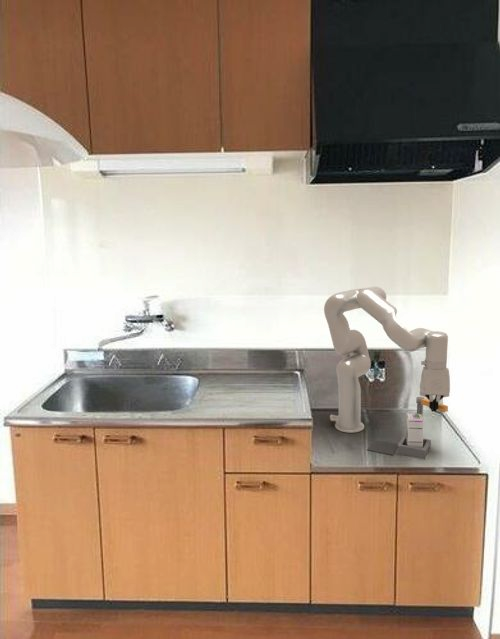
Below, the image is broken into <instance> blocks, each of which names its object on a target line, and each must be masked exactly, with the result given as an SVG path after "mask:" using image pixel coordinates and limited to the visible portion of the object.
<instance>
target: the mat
mask: <svg viewBox="0 0 500 639" xmlns="http://www.w3.org/2000/svg"><path fill="white" fill-rule="evenodd" d="M398 444H399V443H394V442H389V441H383V440H379V439H374V440H372V442H371V443H370V445H369V446H368V448H367V449H366V451H367V452H374V453H379V454H384V455H389V456H394V454H395V453H396V452H397V451H396V450H398Z"/></svg>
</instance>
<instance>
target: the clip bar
mask: <svg viewBox="0 0 500 639" xmlns="http://www.w3.org/2000/svg"><path fill="white" fill-rule="evenodd" d="M415 401H416V403H415V404H417V403H418V404H422V405H423V406H425V407H428V408H429V402H430V400H429V399H428V398H426V397H424V396H417V397H416V400H415ZM437 411H440V412H442V413H447V412H448V411H449V406H448V405H445V404H443V403H439V402H438V409H437Z"/></svg>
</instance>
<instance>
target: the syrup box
mask: <svg viewBox="0 0 500 639" xmlns="http://www.w3.org/2000/svg"><path fill="white" fill-rule="evenodd" d="M406 436H407V441H406V446H411V447H417V448H422V449H423V439H424V417H423V418H422V415H421V414H417V413H416V412H415V413H413V412H412V413H406Z"/></svg>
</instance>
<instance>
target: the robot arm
mask: <svg viewBox="0 0 500 639" xmlns="http://www.w3.org/2000/svg"><path fill="white" fill-rule="evenodd" d="M358 309H362V310H363V311H365V312H366V313H367V314H368V315H369V316H371V317H372V318H373V319H375V321H377V322H378V323H379V324H380V325H381V326H382V329H383V331H384V332H385V334H386V335H387V338H389V339H390V340H391V341H392V342H393V343H394V344H395V345H397V346H398V347H399V348H401V350H404V351H406V352H408V353H409V352H410V353H411V352H415V351H418V350H420V349H424V348H425V359H424V360H421V363H420V364H421V365H423V368H422V371H421V376H420V386H419V388H420V390H419V395H420V397H424V398H426V399H428V400H430V402H429V407H428V408H429V409H430V410H431V412H433V413H437V411H438V410H437V409H438V403H439V402H440V401H441V400H442V399H443V398H448V397H450V391H451V383H450V381H451V378H450V370H449V368H448V367H447V363H448V362H447V361H448V346H449V345H448V341H449V336H448V334H447V333H446V332H444V331H439V330H437V331H435V330H434V331H433V330H430V329H428V328H422V327H418V328H414V329H412V330H409V329H407V328H406V327H404V326H403V325H402V324H401V322H399V320H398V318H397V312H398V310H397V307H395V306H394V305H392V304H391V303H390V302H389V301H387V293H386V291H385V290H384V289H383V288H381V287H380V286H371V287H362V288H357V289H356V288H355V289H350V290H344V291H341V292H339V291H338V292H336V293H334V294H332V295H331V296H329V297H328V299H326V301H325V303H324V308H323V313H324V317H325V319H326V320H325V321H326V323H327V325H328V328H329V329H328V330H329V333H330V337H331V342H332V345H333V348H334V351H335V353H336V354H337V355H340V356H346V355H349V356H348V357H345V358H343V359H341V360H340V361H339V362H338V364H337V365H336V370H335V373H336V377H337V384H338V385H337V386H338V387H337V388H338V392H337V393H338V415H335V414H330V415H329V419H330V421H332V422H335V423H334V427H335V429H336V430H337V431H339V432H343V433H347V434H352V433H353V434H354V433H359V432H362V431H363V430H364V429H365V424H364V423H363V422H362V420H361V418H362V416H361V414H362V413H361V408H362V407H361V406H362V396H361V395H362V394H361V393H362V391H361V390H362V389H361V384H360V381H359V377H362V376H363V375H366V374H367V373H368V372H369V371H370V370H371V366H372V361H371V357H370V353H369V349H368V346H367V342H366V338H365V336H364V335H363V333H361V332H360V331H359V330H356V329H351V328H350V324H349V321H348V319H347V317H346V316H345V315H344V313H345V312H349V311H350V312H351V311H354V310H358ZM434 396H435V397H434Z"/></svg>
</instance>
